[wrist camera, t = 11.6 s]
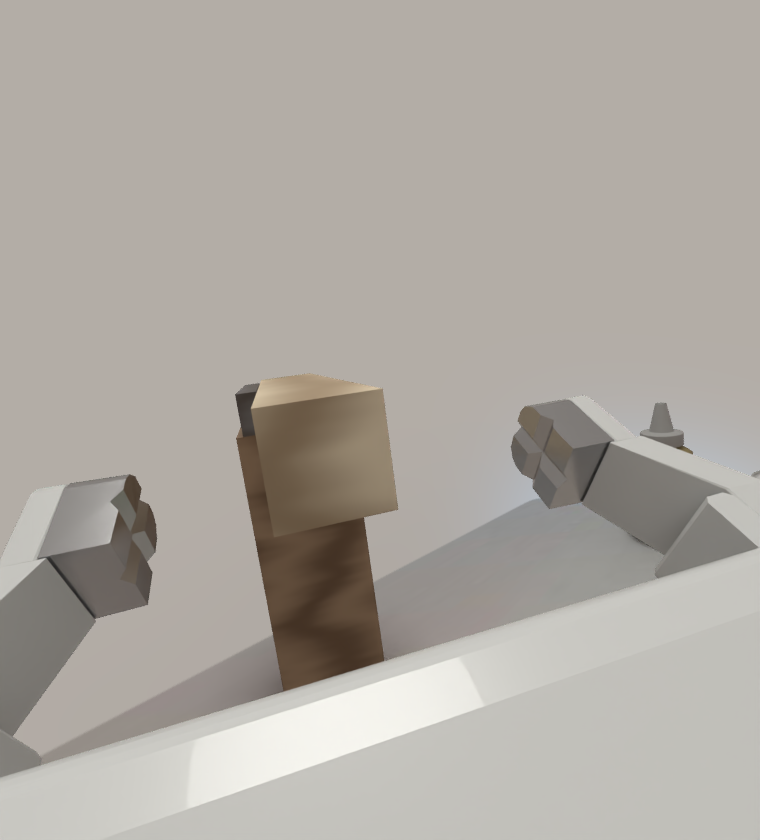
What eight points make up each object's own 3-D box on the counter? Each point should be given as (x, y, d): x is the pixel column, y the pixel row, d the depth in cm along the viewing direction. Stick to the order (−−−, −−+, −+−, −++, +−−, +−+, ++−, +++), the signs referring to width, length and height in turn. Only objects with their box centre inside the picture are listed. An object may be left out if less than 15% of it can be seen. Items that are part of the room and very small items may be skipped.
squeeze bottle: (655, 520, 62) (652, 396, 59) (717, 540, 54) (716, 400, 51) (614, 535, 59) (609, 406, 56) (673, 559, 51) (670, 411, 48)
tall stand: (301, 787, 30) (228, 395, 25) (292, 669, 41) (240, 385, 37) (397, 753, 31) (344, 378, 27) (362, 648, 43) (321, 374, 38)
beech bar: (273, 537, 10) (250, 408, 9) (269, 427, 27) (261, 380, 27) (398, 509, 10) (382, 388, 10) (316, 419, 28) (309, 373, 27)
